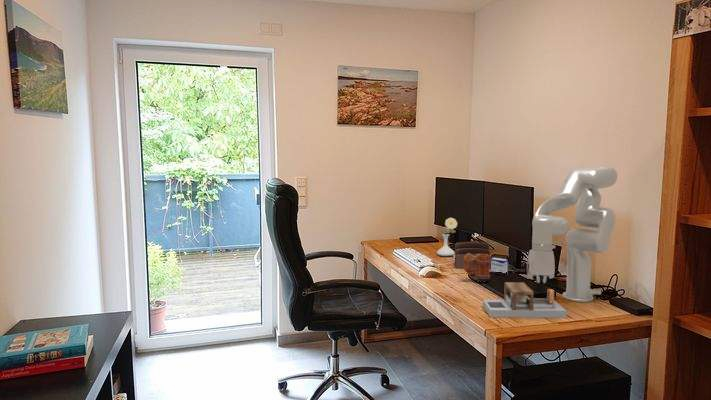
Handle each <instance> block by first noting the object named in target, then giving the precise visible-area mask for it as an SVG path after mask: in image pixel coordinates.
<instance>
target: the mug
mask: <svg viewBox="0 0 711 400" xmlns="http://www.w3.org/2000/svg"><path fill="white" fill-rule="evenodd" d="M472 260H474V263H475V268H472V269H471V268H470V267H469V264H468V263H469V262H471V261H472ZM490 263H491V261H490V260H489V255H488V254H476V256H473V255H471V254H470V253H467V254H466V255H465V256H464V258H463V268H464V269H463V268H462V269H463V270H464V272H466V274H468V275H469V276H471V275H472V276H473V280H474V279H489V280H490V279H491V277H492V274H491V273H490V269H489V264H490Z"/></svg>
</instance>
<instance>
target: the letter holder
mask: <svg viewBox="0 0 711 400" xmlns="http://www.w3.org/2000/svg"><path fill="white" fill-rule="evenodd" d="M454 253H455V254H454V266H455V268H456V269H463V270H464V268H463V258H464V256H465V255H466V254H467V253H470V254H471V255H473V256H476V254H488V255H489V260H490V261H491V259H492V256H491V250H490V244H489V243H488V242H482V241H481V242H480V241H464V242H463V241H462V242H456V243H455V245H454ZM468 264H469V267H470V268H471V269H472V268H475V263H474V260H472V261H471V262H469V263H468ZM489 270H491V263H490V264H489Z"/></svg>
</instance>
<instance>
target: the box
mask: <svg viewBox="0 0 711 400" xmlns="http://www.w3.org/2000/svg"><path fill="white" fill-rule="evenodd" d="M508 261H509V260H508V259H507V258H502V257H501V258H500V257H491V269H490V273H491V272H502V273H506V272H507V273H508V264H509V263H508Z"/></svg>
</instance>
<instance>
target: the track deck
mask: <svg viewBox="0 0 711 400" xmlns="http://www.w3.org/2000/svg"><path fill="white" fill-rule="evenodd" d="M533 304H547V302H533ZM554 304H555V305H556V308H533V310H529V308H516V310H512V307H510V306H509V305H508V303H507V302H506V301H505V300H504V299H482V307H483V310H484V311H485V312H486V313H487V315H488V317H489V318H506V319H507V318H511V319H512V318H516V319H517V318H519V319H521V318H522V319H523V318H525V319H528V318H530V319H531V318H533V319H534V318H535V319H543V318H544V319H545V318H546V319H567V310H566V308H564V307H563V306H562V305H561V304H559V302H557V301H556V300H555V299H554Z"/></svg>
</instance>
